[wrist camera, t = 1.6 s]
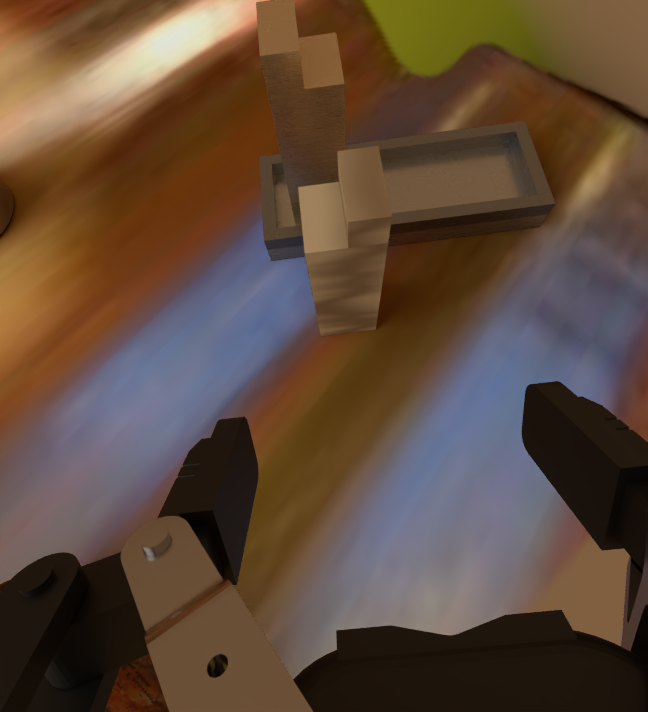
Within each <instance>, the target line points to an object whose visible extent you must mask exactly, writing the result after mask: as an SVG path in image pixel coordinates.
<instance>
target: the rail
mask: <svg viewBox="0 0 648 712" xmlns="http://www.w3.org/2000/svg"><path fill="white" fill-rule="evenodd" d="M256 6H257V21H258V36H259V50H260V59H261V64H262V68H263V73H264V78H265V83H266V87H267V92H268V97H269V102H270V106H271V111H272V116H273V121H274V125H275V130H276V135H277V140H278V144H279V149H280V154H273V155H266V156H259V164H260V180H261V197H262V214H263V231H264V242H265V245H266V248H267V251H268V254H269V256H270V259H271V261H272V260H280V259H288V258H296V257H304V256H305V252H304V242H303V232H302V222H301V212H300V202H299V192H298V187H303V186H310V185H318V184H326V183H333V182H339V176H338V152H337V151H343V150H350V149H358V148H365V147H373V146H378V147H379V152H380V157H381V162H382V167H383V173H384V178H385V183H386V188H387V193H388V198H389V203H390V209H391V214H392V220H391V227H390V234H389V241H388V246H391V245H399V244H407V243H414V242H422V241H430V240H438V239H446V238H454V237H462V236H470V235H478V234H486V233H494V232H502V231H509V230H517V229H525V228H533V227H540V225H541V224H542V222H543V221H544V219H545V218H546V217H547V215H548V214H549V212H550V211H551V209H552V208H553V206H554V205H555V201H554V198H553V195H552V193H551V190H550V187H549V185H548V182H547V179H546V176H545V174H544V171H543V168H542V166H541V163H540V160H539V158H538V155H537V152H536V149H535V147H534V144H533V141H532V139H531V136H530V133H529V130H528V128H527V125H526V122H525V121H519V122H512V123H504V124H497V125H489V126H482V127H474V128H467V129H460V130H452V131H445V132H437V133H430V134H422V135H415V136H407V137H400V138H393V139H385V140H378V141H370V142H363V143H355V144H348V145H346V136H345V84H344V78H343V72H342V66H341V60H340V54H339V48H338V42H337V36H336V33H329V34H322V35H315V36H308V37H301V38H298V32H297V24H296V15H295V7H294V0H270V1H263V2H256Z"/></svg>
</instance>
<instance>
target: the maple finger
mask: <svg viewBox="0 0 648 712" xmlns="http://www.w3.org/2000/svg"><path fill="white" fill-rule="evenodd" d="M337 152H338V176H339V182H333V183H326V184H318V185H310V186H303V187H298V192H299V202H300V212H301V222H302V232H303V242H304V252H305V258H306V264H307V269H308V274H309V279H310V284H311V289H312V294H313V299H314V304H315V309H316V314H317V319H318V324H319V329H320V334H321V336H328V335H336V334H344V333H353V332H361V331H369V330H376V324H377V317H378V311H379V304H380V297H381V290H382V283H383V276H384V269H385V262H386V255H387V248H388V241H389V234H390V227H391V220H392V214H391V209H390V203H389V198H388V193H387V188H386V183H385V178H384V173H383V167H382V162H381V157H380V152H379V147H378V146H373V147H365V148H358V149H350V150H343V151H337Z"/></svg>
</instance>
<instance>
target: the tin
mask: <svg viewBox="0 0 648 712" xmlns="http://www.w3.org/2000/svg"><path fill="white" fill-rule="evenodd" d="M9 581H10V580H9ZM9 581H6V582H4V583H2V584H0V592H1V591H2V590H3V588H4V587H5V586H6V584H7V583H8V582H9ZM104 712H169V710H168V707H167V704H166V701H165V698H164V695H163V692H162V689H161V686H160V683H159V680H158V677H157V674H156V671H155V668H154V666H153V663H152V660H151V657H150V654H148V655H146V656H143V657H141V658H139V659H136V660H134V661H132V662H130V663H127V664H125V665H123V666H120V669H119V672H118V675H117V678H116V680H115V683H114V686H113V689H112V692H111V695H110V697H109V700H108V703H107V706H106V709H105V711H104Z"/></svg>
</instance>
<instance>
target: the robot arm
mask: <svg viewBox="0 0 648 712" xmlns="http://www.w3.org/2000/svg"><path fill="white" fill-rule="evenodd" d="M13 207H14V201H13V196H12V193H11V191H10V189H9V188H8V187H7V186H6V185H5V184H4V183H3V182H2V181H1V180H0V234H1V233H2V232H3V231H4V229H5V228H6V226H7V225H8V223H9V221H10V219H11V216H12V213H13ZM522 439H523V443H524V446H525V448H526V450H527V452H528V454H529V455H530V456H531V458H532V459H533V460H534V462H535V463H536V464H537V466H538V467H539V468H540V470H541V471H542V472H543V474H544V475H545V476H546V477H547V479H548V480H549V481H550V483H551V484H552V485H553V487H554V488H555V489H556V491H557V492H558V493H559V495H560V496H561V497H562V499H563V500H564V501H565V502H566V504H567V505H568V506H569V508H570V509H571V510H572V512H573V513H574V514H575V516H576V517H577V518H578V520H579V521H580V522H581V524H582V525H583V526H584V527H585V529H586V530H587V531H588V533H589V534H590V535H591V537H592V538H593V539H594V541H595V542H596V543H597V545H598V546H599V547H600V549H601V550H611V549H622V548H624V549H625V550H626V551H627V552H628V554H629V555H630V557H629V561H628V565H627V576H626V589H625V604H624V618H623V633H622V641H621V647H620V646H618V645H616V644H614V643H612V642H610V641H607V640H604V639H602V638H599V637H597V636H593V635H590V634H586V633H583V632H579V631H574V630H572V628H571V626H570V624H569V622H568V621H567V619H566V617H565V615H564V613H563V612H562V610H555V611H545V612H533V613H522V614H511V615H504V616H502V617H499V618H497V619H494V620H492V621H489V622H487V623H484V624H482V625H479V626H477V627H474V628H472V629H469V630H467V631H465V632H462V633H460V634H457V635H452V636H448V635H441V634H436V633H430V632H424V631H419V630H413V629H407V628H402V627H396V626H380V627H370V628H359V629H348V630H337V631H336V633H337V650H336V651H333V652H331V653H329V654H326V655H325V656H323V657H321V658H319V659H318V660H316V661H314V662H313V663H312V664H310V665H309V666H308V667H306V668H305V669H304V670H303V671H302V672H300V673H299V674H298V675H297V676H296V677H295V678H294V679H292V677H291V676H290V674H289V673H288V671H287V670H286V668H285V666H284V665H283V663H282V662H281V660H280V659H279V657H278V655H277V654H276V652H275V651H274V649H273V647H272V646H271V644H270V643H269V641H268V640H267V638H266V636H265V635H264V633H263V632H262V630H261V629H260V627H259V625H258V624H257V622H256V621H255V619H254V618H253V616H252V614H251V613H250V611H249V610H248V608H247V606H246V605H245V603H244V602H243V600H242V599H241V597H240V595H239V594H238V592H237V591H236V589H235V588H234V586H233V585H237V581H238V576H239V571H240V566H241V561H242V557H243V552H244V547H245V542H246V537H247V532H248V527H249V522H250V517H251V512H252V507H253V502H254V497H255V492H256V487H257V482H258V463H257V458H256V454H255V450H254V445H253V441H252V437H251V433H250V429H249V425H248V422H247V419H246V418H245V417H238V418H229V419H221V420H218V422H217V424H216V426H215V429H214V431H213V434H212V436H211V438H206V439H201V440H200V441H199V442H198V443H197V444H196V445H195V446H194V447H193V448H192V449H191V450H190V451H189V453H188V455H187V457H186V459H185V461H184V463H183V467H181V469H180V472H179V474H178V478H177V479H176V480H175V482H174V484H173V486H172V488H171V491H170V493H169V495H168V497H167V499H166V501H165V503H164V505H163V507H162V509H161V512H160V514H159V516H158V518H157V519H155V520H152V521H150V522H148V523H146V524H145V525H143V526H142V527H140V528H139V529H138V530H136V531H135V532H134V533H133V534H132V535H131V536H130V537H129V539H128V540H127V541H126V543H125V545H124V547H123V549H122V552H120V553H117V554H115V555H112V556H109V557H107V558H104V559H101V560H98V561H96V562H93V563H90V564H87V565H85V566H82V567H81V565H80V563H79V561H78V560H77V558H76V557H75V556H74V555H73V554H70V553H55V554H51V555H48V556H45V557H43V558H41V559H39V560H37V561H35V562H33V563H31V564H30V565H28V566H27V567H25V568H24V569H22V570H21V571H20V572H19V573H17V574H16V575H15V576H14V577H13V578H12V579H11V580H10V581H9V582H8V583H7V584H6V586H5V587H4V588H3V590H2V591H1V592H0V712H104V711H105V709H106V706H107V703H108V700H109V697H110V695H111V692H112V689H113V686H114V683H115V680H116V678H117V675H118V672H119V669H120V666H123V665H125V664H127V663H130V662H132V661H134V660H136V659H139V658H141V657H143V656H146V655H148V654H150V657H151V660H152V663H153V666H154V668H155V671H156V674H157V677H158V680H159V683H160V686H161V689H162V692H163V695H164V698H165V701H166V704H167V707H168V710H169V712H648V442H647V441H645V440H644V439H643V438H642V437H640V436H639V435H638V434H637V433H635V432H634V431H633V430H629V427H628V426H627V425H626V424H624V423H623V422H622V421H621V420H617V417H616V416H614V415H613V414H612V413H611V412H609V411H608V410H607V409H606V408H604V407H603V406H602V405H600V404H597V403H595V402H593V401H591V400H588V399H586V398H584V397H577V396H576V395H575V394H574V393H573V392H572V391H570V390H569V389H568V388H567V387H566V386H564V385H563V384H562V383H561V382H558V381H556V382H547V383H538V384H530V385H528V386H527V388H526V392H525V401H524V412H523V423H522Z"/></svg>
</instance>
